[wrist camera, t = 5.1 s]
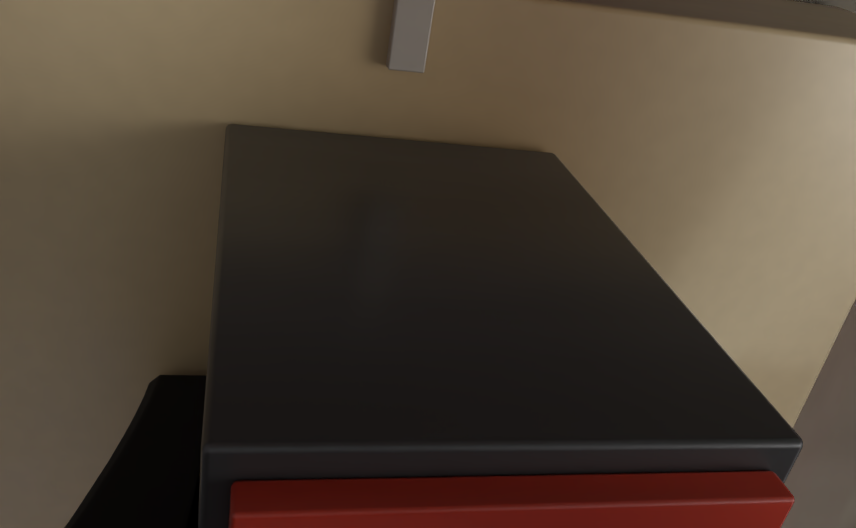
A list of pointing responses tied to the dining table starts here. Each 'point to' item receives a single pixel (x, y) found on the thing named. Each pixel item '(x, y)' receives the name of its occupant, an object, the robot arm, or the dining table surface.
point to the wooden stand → (410, 120)
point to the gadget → (460, 353)
